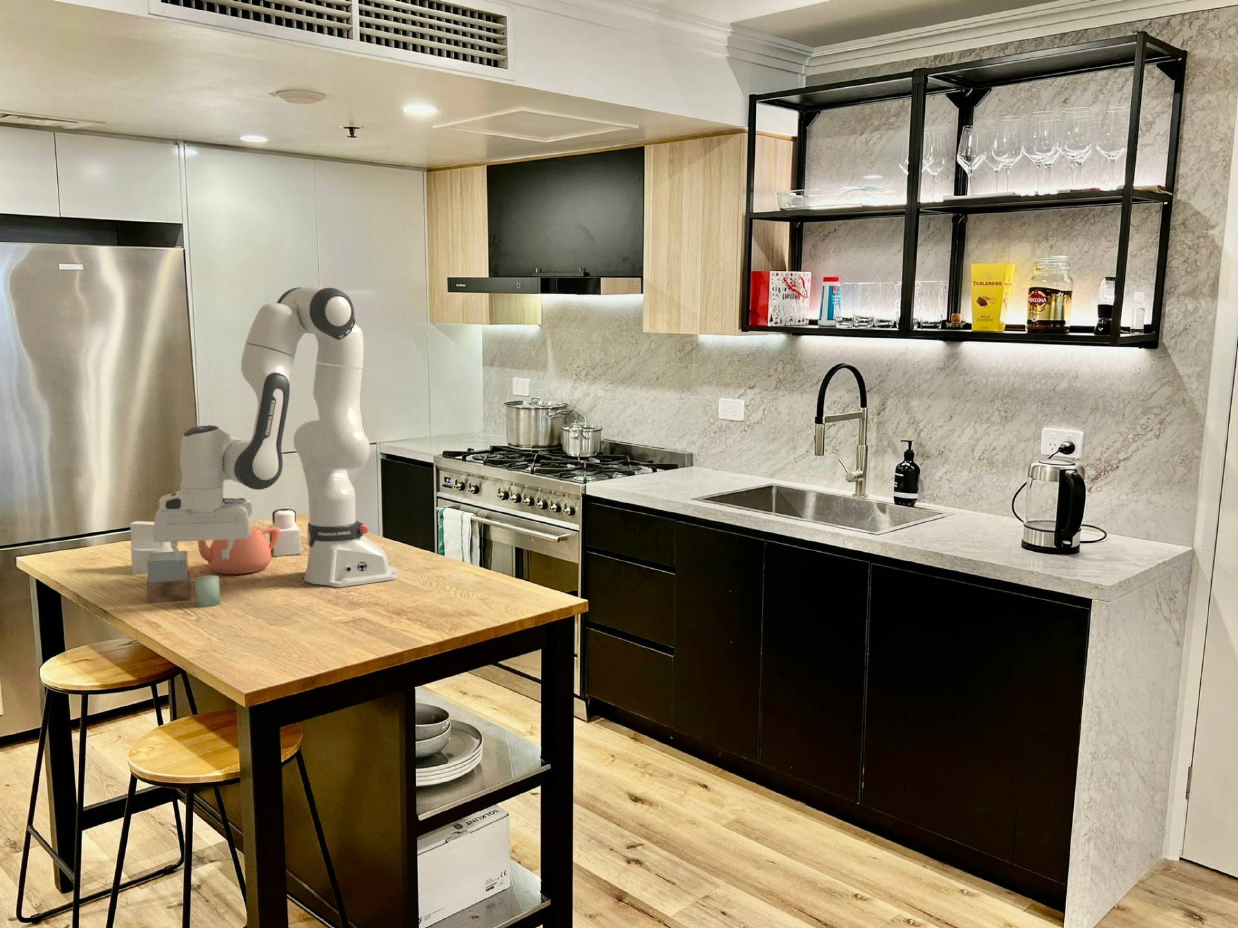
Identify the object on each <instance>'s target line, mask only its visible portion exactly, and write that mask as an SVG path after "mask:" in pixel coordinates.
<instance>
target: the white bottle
mask: <svg viewBox="0 0 1238 928" xmlns="http://www.w3.org/2000/svg"><path fill="white" fill-rule="evenodd" d="M271 515H272V525H270V526H269V527H268V528H271V527H277V528H279V530H280V535H279V538H278V540H277V542H276V544H275V545H274V547H273V549H272V550H271V556H272V557H274V556H278V557H288V556H287V555H290V556H297V555H296V554H300V555H301V554H302V553H301V529H300V527H298V525H297V517H296V516H297V513H296V511H295V510H294V509H291V508H280V509H275V510H274V511H273V512H272V513H271ZM271 539H272V533H271V532H269V543H270V542H271Z"/></svg>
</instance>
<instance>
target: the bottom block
mask: <svg viewBox="0 0 1238 928" xmlns="http://www.w3.org/2000/svg"><path fill="white" fill-rule="evenodd" d="M191 580H192V578H191V570H188V575H187V580H184V581H169V582H155V583H148V578H147V581H146V597H147V599H146V600H147V604H148V603H150V604H149V605H152V604H151V603H156V604H166V603H177V602H190V601H192V582H191Z"/></svg>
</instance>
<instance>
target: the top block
mask: <svg viewBox="0 0 1238 928" xmlns="http://www.w3.org/2000/svg"><path fill="white" fill-rule="evenodd" d="M179 552H183V555H184V556H183V557H184V561H177V560H176V553H175V552H174V551H170V552H159V553H150V554H149V557H148V561H147V566H148V574H147V579H148V583H155V582H169V581H184V580H187V575H188V571H189V568H188V566H189V565H188V551H187V550H179Z"/></svg>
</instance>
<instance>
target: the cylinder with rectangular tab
mask: <svg viewBox="0 0 1238 928" xmlns="http://www.w3.org/2000/svg"><path fill="white" fill-rule="evenodd" d="M154 522H155V521H143V520H141V521H139V520H136V521H133V522H130V523H129V527H130V528H129V529H130V544H131V545H130V546H131V547H130V556H131V571H132V573H133V574H138V575H148V566H147V561H148V557H149V554H150V553H159V552H171V542H156V541H155V540H154V539H153V530H154Z"/></svg>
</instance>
